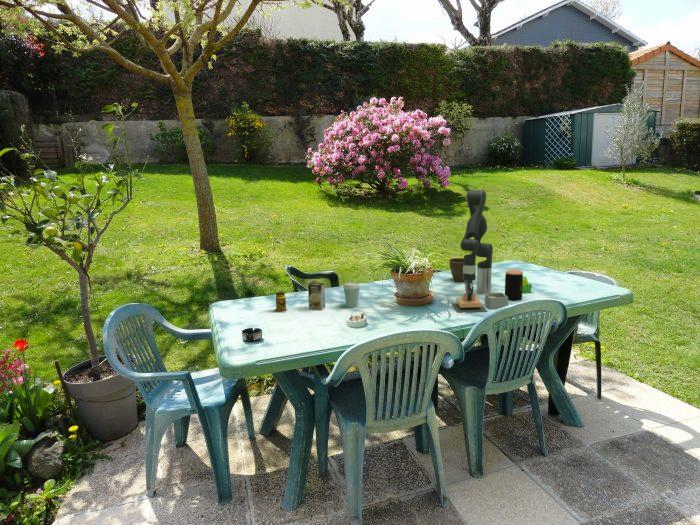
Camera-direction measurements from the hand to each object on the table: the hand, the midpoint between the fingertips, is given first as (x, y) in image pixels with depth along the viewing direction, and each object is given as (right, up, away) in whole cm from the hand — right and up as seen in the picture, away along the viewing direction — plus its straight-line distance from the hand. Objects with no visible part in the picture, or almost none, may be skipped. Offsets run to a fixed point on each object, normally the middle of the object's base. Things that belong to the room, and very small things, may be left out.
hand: (468, 299), depth 304 cm
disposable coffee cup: (-71, -5, +12) cm, 72 cm away
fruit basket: (+43, +2, +30) cm, 53 cm away
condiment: (-116, -8, +8) cm, 116 cm away
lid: (0, -3, +1) cm, 3 cm away
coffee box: (-93, -6, +10) cm, 94 cm away
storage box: (+17, -4, +2) cm, 18 cm away
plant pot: (+8, +8, +63) cm, 64 cm away
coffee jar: (+32, -1, +16) cm, 36 cm away
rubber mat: (0, -5, +1) cm, 5 cm away
